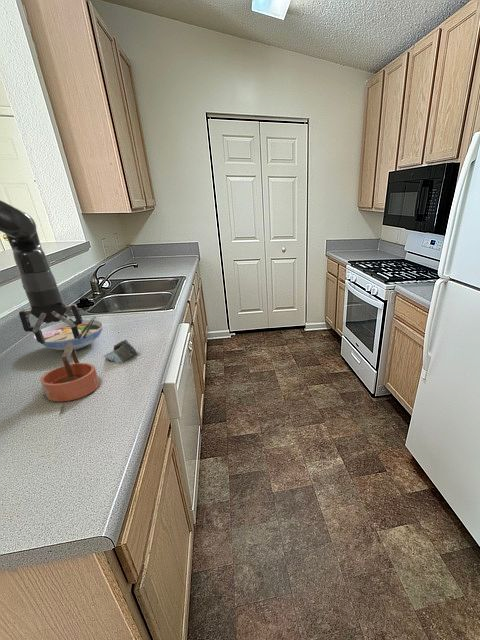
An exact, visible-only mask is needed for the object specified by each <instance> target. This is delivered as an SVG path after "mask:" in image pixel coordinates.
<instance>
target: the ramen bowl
mask: <svg viewBox="0 0 480 640" xmlns="http://www.w3.org/2000/svg"><path fill="white" fill-rule="evenodd" d="M82 320H83V321H82V324H79V325H77V327H78V330H79V333H80V334H79V336H78V339H75V338H74V336H73V333H72V330H71V326H70V325H68V324H67V323H64V322H63V321H62V322H60V323H59V322H58V323H55V324H52V325H49V326H45V327H44V328H40V330H41V331H42V334H43V337H44V339H45V343H44V344H42V345H43V346H44V347H46V348H48V349H51V350H56V351H64V350H65V348H66V346H67V343H68V342H70V341H72V342H73V345H74V348H75V351H78V350H81V349H83V348H85V347H86V346H89V345H90V344H92V343H94V342H95V341H96V340H98V338H99V337H100V335H101V334H102V331H103V328H104V322H103V321H100V320H97V319H96V317H95V316H93V317H92V318H91V319H82ZM74 321H76V319H75V320H74ZM33 339H34V340H35V341H37V339H36V337H35V334H34V335H33Z"/></svg>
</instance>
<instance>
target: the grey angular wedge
mask: <svg viewBox="0 0 480 640" xmlns="http://www.w3.org/2000/svg"><path fill="white" fill-rule="evenodd" d="M113 350H114V351H112V352H111V353H109V354H108V355H107V356H106V357H105V358H106V359H108V362H115V363H116V364H120V363H121V364H123V363H126V361H127V360H128V359H130V358H131V357H138V356H139V353H138V352H137V350H136V349H135V348H134V346H133V345H131V343H129V342H128V340H127V339H123V340H121V341H119V342H118V343H116V344H114V345H113Z"/></svg>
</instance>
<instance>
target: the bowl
mask: <svg viewBox="0 0 480 640" xmlns="http://www.w3.org/2000/svg"><path fill="white" fill-rule="evenodd" d="M70 366H71V369H72V372H73V375H74V376H73V377H80V378H79V379H77V380H74V381H70V382H66V383H62V381H63V380H65V379H68V378H71V377H68V374H67V371H66V368H65V366H64V365H61V366H59V367H56V368H53V369H50V370H49V371H47V372H46V373H44V374H43V375H42V376H41V377H40V380H39V382H40V384H41V386H42V389H43V391H44V393H45V397H46V398H47V399H48V400H49V401H51V402H60V403H61V402H70V401H75V400H78V399H82V398H84V397H86V396H88V395H90V394H91V393H93V392H94V391H96V390H97V389H98V388H99V386H100V379H99V376H98V373H97V370H96V367H95V365H93V364H91V363H88V362H80V363H74V362H73V363H70Z"/></svg>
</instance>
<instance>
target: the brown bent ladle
mask: <svg viewBox="0 0 480 640" xmlns="http://www.w3.org/2000/svg"><path fill="white" fill-rule="evenodd" d="M71 357H72V360H73V364H74V363H81V362H80V359H79V356H78V353H77V350H75V348H74V345H73V342H72V341H70V342H68V343H67V346H66V348H65V350H63V353H62V355H61V360H62V362H63V366H65V368H66V371H67V374H68V377H71V378H68V379H65V380H63V381H62V383H66V382H70V381H74V380H77V379H79V378H80V377H73V376H74V375H73V372H72V369H71V366H70V364H71V363H70V358H71Z"/></svg>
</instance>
